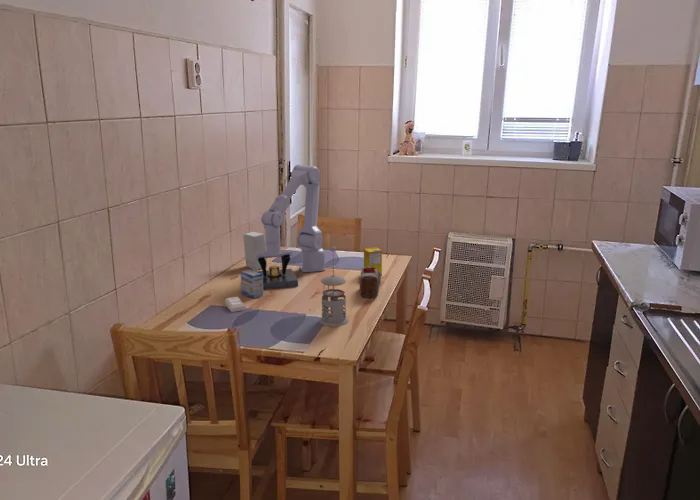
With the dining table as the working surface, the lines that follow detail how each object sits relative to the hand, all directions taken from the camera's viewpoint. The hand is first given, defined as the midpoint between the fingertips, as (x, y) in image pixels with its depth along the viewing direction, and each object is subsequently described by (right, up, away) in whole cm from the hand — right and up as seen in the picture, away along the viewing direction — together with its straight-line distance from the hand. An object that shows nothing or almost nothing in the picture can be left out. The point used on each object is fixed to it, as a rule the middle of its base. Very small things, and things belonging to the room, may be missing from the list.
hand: (274, 274), depth 223 cm
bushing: (0, -3, +1) cm, 3 cm away
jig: (0, -3, +1) cm, 3 cm away
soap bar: (-10, -11, -26) cm, 30 cm away
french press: (+24, -13, -38) cm, 47 cm away
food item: (+37, -6, -12) cm, 40 cm away
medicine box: (-6, -7, -14) cm, 17 cm away
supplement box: (+39, -1, +9) cm, 40 cm away
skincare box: (-11, +2, +21) cm, 24 cm away
